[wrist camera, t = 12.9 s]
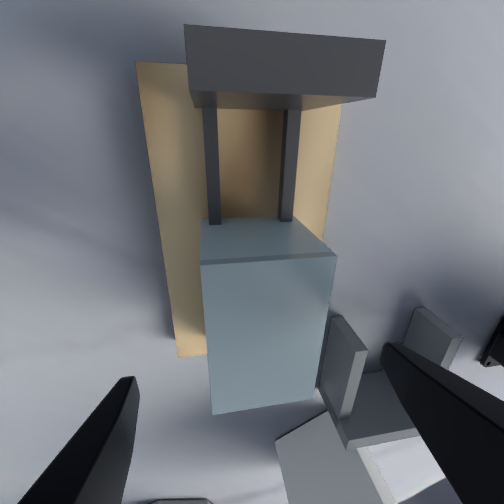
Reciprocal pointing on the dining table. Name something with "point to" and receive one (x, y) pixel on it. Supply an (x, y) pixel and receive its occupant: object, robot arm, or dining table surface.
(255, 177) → the board
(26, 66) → the dining table surface
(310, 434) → the milk carton
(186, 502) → the tankard
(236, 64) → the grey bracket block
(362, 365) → the bay
